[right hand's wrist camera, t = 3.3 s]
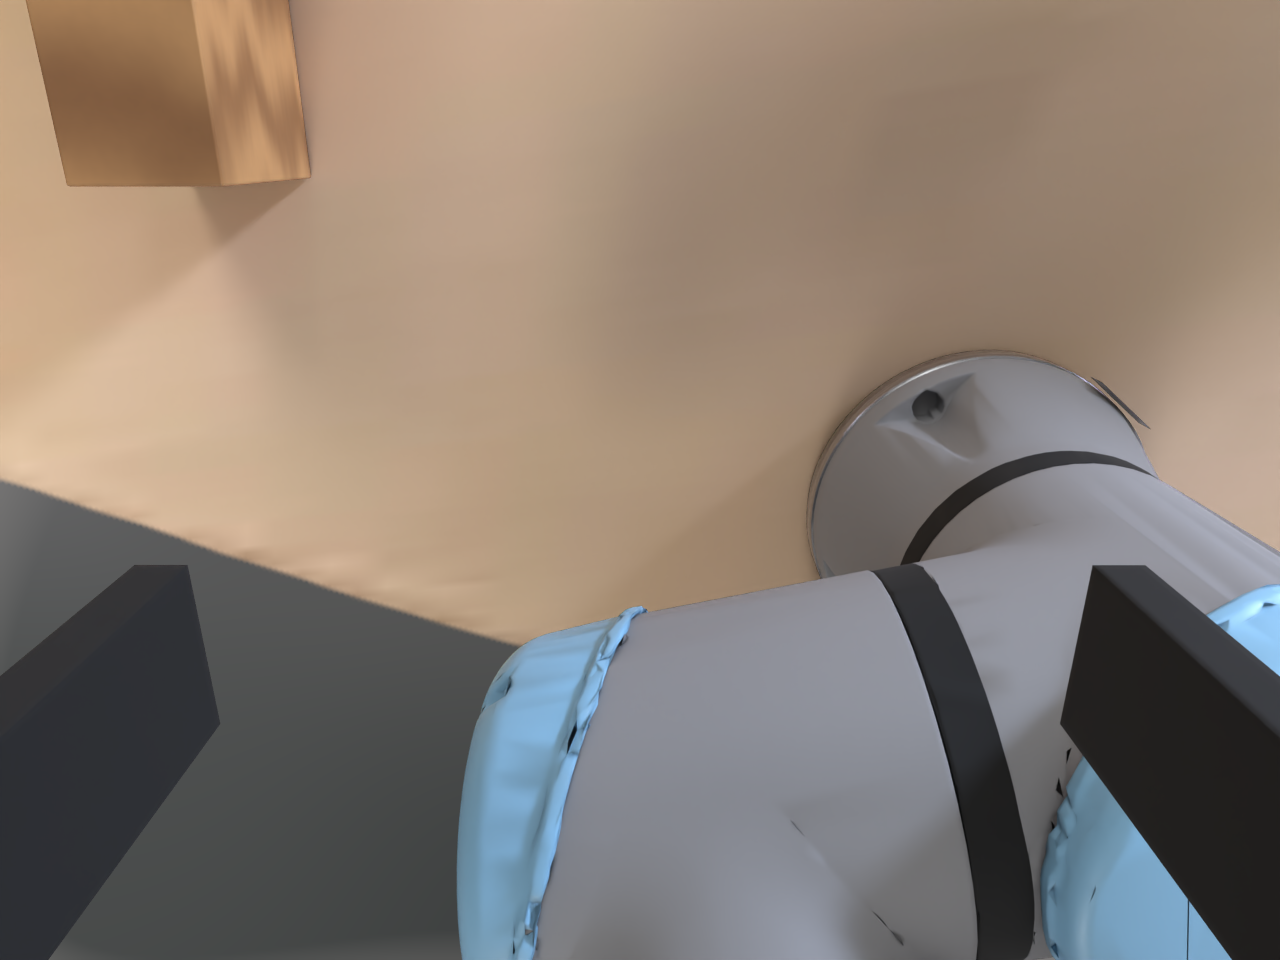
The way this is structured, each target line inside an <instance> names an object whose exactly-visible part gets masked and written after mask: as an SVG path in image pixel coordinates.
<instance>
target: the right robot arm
mask: <svg viewBox="0 0 1280 960" xmlns="http://www.w3.org/2000/svg"><path fill="white" fill-rule="evenodd" d="M1091 378H1092V377H1091ZM1092 379H1093V380H1095V381H1096V382H1097V383H1098V384H1099V385H1100V386H1101V387H1102V388H1103V389H1104V390H1105V391H1106V392H1107V393H1108V394H1109V395H1110V396H1111V397H1112V398H1113V399H1114V400H1115V401H1116V402H1118V403H1119V404H1120V405H1121V406H1122V407H1123V408H1124V409H1125V410H1126V411H1127V412H1128V413H1129V414H1130V415H1131V416H1132V417H1133V418H1134V419H1135V420H1136V421H1137V422H1138V423H1140V424H1142V425H1144V426H1146V427H1147V428H1149V427H1148V426H1147V425H1146V424H1145V423H1144V422H1143V421H1142V420H1141V419H1140V418H1139V417H1138V416H1137V415H1135V414H1134V413H1133V412H1132V411H1131V410H1130V409H1129V408H1128V407H1127V406H1126V405H1125V404H1124V403H1123V402H1122V401H1121V400H1120V399H1119V398H1118V397H1117V396H1116V395H1115V394H1114V393H1112V392H1111V391H1110V390H1109V389H1108V388H1107V387H1106V386H1105V385H1104V384H1103V383H1102V382H1100V381H1098V380H1096V379H1094V378H1092ZM1149 429H1150V428H1149ZM807 533H808V541H809V545H810V549H811V554H812V557H813V559H814V562H815V565H816V568H817V570H818V573H819V575H820V577H821V579H819V580H814V581H809V582H803V583H798V584H793V585H788V586H782V587H777V588H772V589H767V590H762V591H756V592H751V593H746V594H741V595H736V596H730V597H725V598H720V599H715V600H710V601H704V602H699V603H694V604H689V605H683V606H678V607H673V608H668V609H663V610H657V611H652V612H648V611H647V609H644V608H643V607H642V606H638V607H632V608H629V609H626V610H625V611H624V612H622V613H621V614H620V615H619V616H618V617H615V618H611V619H606V620H602V621H598V622H594V623H590V624H586V625H582V626H578V627H574V628H569V629H565V630H561V631H557V632H553V633H549V634H545V635H542V636H540V637H537V638H535V639H533V640H531V641H529V642H527V643H525V644H524V645H523V646H521V647H520V648H519V649H517V650H516V651H515V652H514V653H513V654H512V655H511V656H510V657H509V658H508V660H507V661H506V662H505V663H504V664H503V666H502V667H501V668H500V670H499V671H498V673H497V675H496V676H495V678H494V680H493V681H492V683H491V685H490V688H489V690H488V692H487V694H486V697H485V700H484V703H483V705H482V709H481V713H480V716H479V719H478V720H477V723H476V726H475V729H474V733H473V737H472V741H471V745H470V750H469V755H468V760H467V765H466V770H465V777H464V783H463V790H462V799H461V809H460V818H459V831H458V849H457V909H458V926H459V937H460V946H461V954H462V960H1037V959H1043V958H1051V957H1054V958H1055V960H1280V552H1279V551H1277V550H1276V549H1274V548H1272V547H1271V546H1269V545H1267V544H1266V543H1264V542H1262V541H1261V540H1259V539H1257V538H1256V537H1254V536H1252V535H1251V534H1249V533H1247V532H1246V531H1244V530H1242V529H1241V528H1239V527H1237V526H1236V525H1234V524H1233V523H1231V522H1229V521H1228V520H1226V519H1224V518H1223V517H1221V516H1219V515H1218V514H1216V513H1214V512H1213V511H1211V510H1209V509H1208V508H1206V507H1204V506H1203V505H1201V504H1199V503H1198V502H1196V501H1194V500H1193V499H1191V498H1190V497H1188V496H1186V495H1185V494H1183V493H1181V492H1180V491H1178V490H1176V489H1175V488H1173V487H1171V486H1170V485H1168V484H1166V483H1165V482H1163V481H1161V480H1159V478H1158V476H1157V474H1156V472H1155V470H1154V468H1153V466H1152V464H1151V462H1150V461H1149V459H1148V457H1147V455H1146V453H1145V451H1144V448H1143V446H1142V443H1141V441H1140V439H1139V437H1138V435H1137V433H1136V431H1135V430H1134V428H1133V426H1132V425H1131V423H1130V422H1129V421H1128V419H1127V418H1126V417H1125V415H1124V414H1123V413H1122V412H1121V411H1120V410H1119V409H1118V407H1117V406H1116V405H1115V404H1114V403H1113V402H1112V401H1111V400H1110V399H1109V398H1107V397H1106V396H1105V395H1104V394H1103V393H1102V392H1101V391H1100V390H1099V389H1097V388H1096V387H1095V386H1094V385H1092V384H1091V383H1090V382H1088V381H1086V380H1085V379H1083V378H1081V377H1080V376H1078V375H1076V374H1075V373H1073V372H1071V371H1069V370H1067V369H1065V368H1063V367H1061V366H1059V365H1057V364H1054V363H1052V362H1050V361H1048V360H1045V359H1042V358H1039V357H1036V356H1032V355H1028V354H1023V353H1019V352H1011V351H1002V350H979V351H967V352H961V353H956V354H950V355H946V356H943V357H939V358H935V359H932V360H930V361H927V362H924V363H922V364H919V365H916V366H914V367H912V368H910V369H908V370H906V371H904V372H902V373H900V374H898V375H897V376H895V377H893V378H892V379H890V380H888V381H887V382H885V383H884V384H882V385H881V386H880V387H878V388H877V389H875V390H874V391H873V392H872V393H870V394H869V395H868V396H867V397H866V398H865V399H863V400H862V401H861V402H860V403H859V404H858V405H857V406H856V407H855V408H854V409H853V410H852V411H851V412H850V413H849V414H848V415H847V417H846V418H845V419H844V420H843V422H842V423H841V424H840V425H839V427H838V428H837V429H836V431H835V432H834V434H833V435H832V437H831V438H830V440H829V442H828V443H827V445H826V447H825V449H824V451H823V453H822V455H821V457H820V459H819V462H818V464H817V466H816V469H815V472H814V475H813V478H812V482H811V486H810V491H809V496H808V503H807ZM219 725H220V721H219V716H218V711H217V706H216V701H215V696H214V691H213V687H212V682H211V677H210V672H209V667H208V662H207V658H206V653H205V648H204V643H203V638H202V633H201V628H200V624H199V619H198V614H197V609H196V604H195V599H194V595H193V590H192V585H191V580H190V575H189V570H188V566H187V565H134V566H133V567H132V568H131V569H129V570H128V571H127V572H126V573H125V574H123V575H122V576H121V577H120V578H118V579H117V580H116V581H115V582H114V583H112V584H111V585H110V586H109V587H108V588H106V589H105V590H104V591H103V592H102V593H100V594H99V595H98V596H97V597H95V598H94V599H93V600H92V601H91V602H89V603H88V604H87V605H86V606H85V607H83V608H82V609H81V610H80V611H79V612H77V613H76V614H75V615H74V616H72V617H71V618H70V619H69V620H68V621H66V622H65V623H64V624H63V625H62V626H60V627H59V628H58V629H57V630H56V631H54V632H53V633H52V634H51V635H49V636H48V637H47V638H46V639H45V640H43V641H42V642H41V643H40V644H39V645H37V646H36V647H35V648H34V649H33V650H31V651H30V652H29V653H28V654H27V655H25V656H24V657H23V658H22V659H20V660H19V661H18V662H17V663H16V664H14V665H13V666H12V667H11V668H10V669H8V670H7V671H6V672H5V673H4V674H2V675H1V676H0V960H48V959H49V958H50V957H51V955H52V954H53V953H54V951H55V950H56V948H57V947H58V946H59V944H60V943H61V942H62V940H63V939H64V937H65V936H66V935H67V933H68V932H69V930H70V929H71V928H72V926H73V925H74V924H75V922H76V921H77V920H78V918H79V917H80V915H81V914H82V913H83V911H84V910H85V909H86V907H87V906H88V904H89V903H90V902H91V900H92V899H93V898H94V896H95V895H96V893H97V892H98V891H99V889H100V888H101V887H102V885H103V884H104V883H105V881H106V880H107V878H108V877H109V876H110V874H111V873H112V871H113V870H114V869H115V867H116V866H117V865H118V863H119V862H120V861H121V859H122V858H123V856H124V855H125V854H126V852H127V851H128V849H129V848H130V847H131V845H132V844H133V843H134V841H135V840H136V839H137V837H138V836H139V834H140V833H141V832H142V830H143V829H144V828H145V826H146V825H147V823H148V822H149V821H150V819H151V818H152V817H153V815H154V814H155V813H156V811H157V810H158V808H159V807H160V806H161V804H162V803H163V802H164V800H165V799H166V797H167V796H168V795H169V793H170V792H171V791H172V789H173V788H174V786H175V785H176V784H177V782H178V781H179V779H180V778H181V777H182V775H183V774H184V773H185V771H186V770H187V769H188V767H189V766H190V764H191V763H192V762H193V760H194V759H195V758H196V756H197V755H198V753H199V752H200V751H201V749H202V748H203V747H204V745H205V744H206V743H207V741H208V740H209V738H210V737H211V736H212V734H213V733H214V732H215V730H216V729H217V727H218V726H219Z"/></svg>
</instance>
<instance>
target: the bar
mask: <svg viewBox="0 0 1280 960" xmlns="http://www.w3.org/2000/svg"><path fill="white" fill-rule="evenodd" d="M26 3H27V8H28V12H29V17H30V21H31V26H32V30H33V35H34V39H35V44H36V48H37V53H38V57H39V62H40V66H41V70H42V75H43V79H44V84H45V88H46V93H47V97H48V102H49V106H50V111H51V115H52V120H53V124H54V129H55V133H56V138H57V142H58V147H59V151H60V156H61V160H62V165H63V169H64V174H65V178H66V183H67V185H68V186H232V185H242V184H253V183H263V182H274V181H284V180H295V179H305V178H310V177H311V175H310V167H309V159H308V151H307V143H306V135H305V128H304V120H303V112H302V104H301V96H300V88H299V81H298V73H297V65H296V57H295V49H294V41H293V34H292V26H291V18H290V10H289V2H288V0H26Z"/></svg>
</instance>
